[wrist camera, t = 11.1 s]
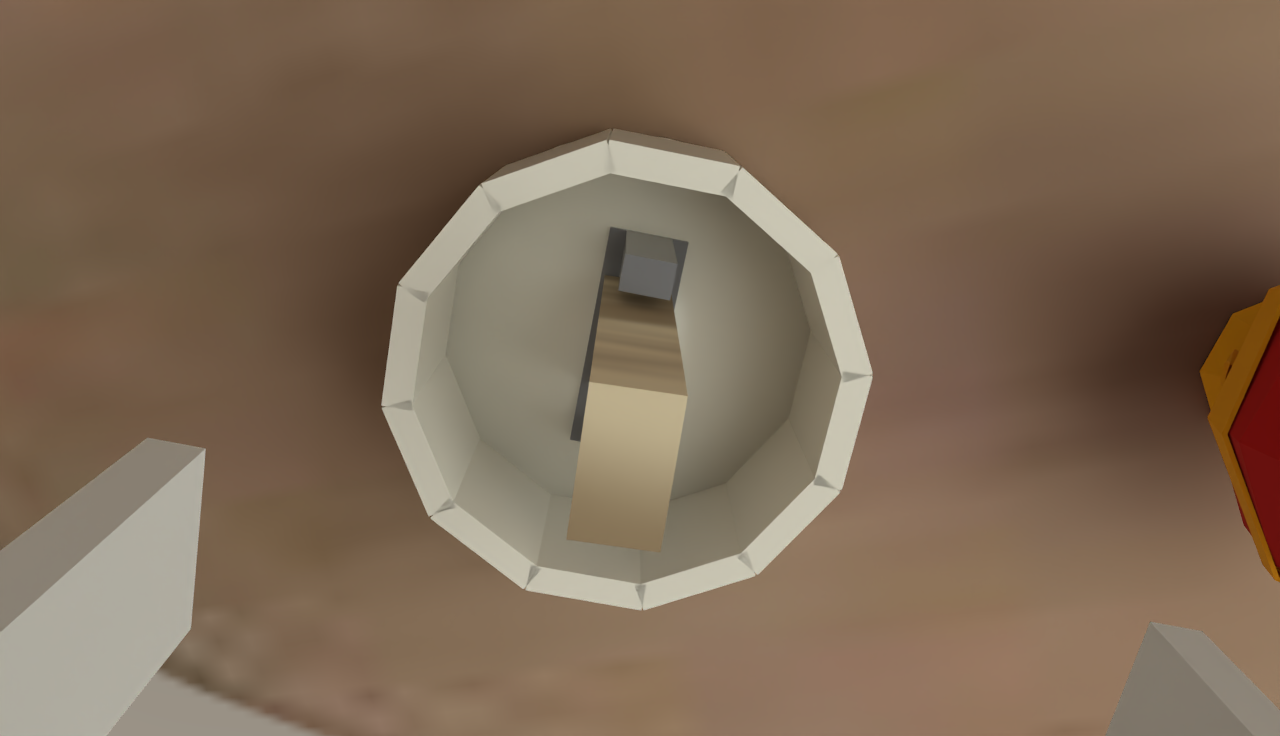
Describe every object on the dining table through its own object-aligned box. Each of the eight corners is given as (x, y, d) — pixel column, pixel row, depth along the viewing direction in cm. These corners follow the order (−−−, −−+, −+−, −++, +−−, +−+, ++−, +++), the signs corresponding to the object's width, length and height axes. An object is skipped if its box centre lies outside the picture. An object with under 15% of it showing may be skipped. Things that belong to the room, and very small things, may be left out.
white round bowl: (459, 96, 30) (421, 101, 25) (870, 179, 31) (920, 202, 26) (404, 482, 34) (360, 561, 28) (775, 549, 34) (800, 638, 29)
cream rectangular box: (604, 275, 31) (588, 382, 20) (669, 284, 31) (687, 396, 20) (589, 383, 32) (565, 539, 21) (652, 393, 32) (660, 552, 21)
